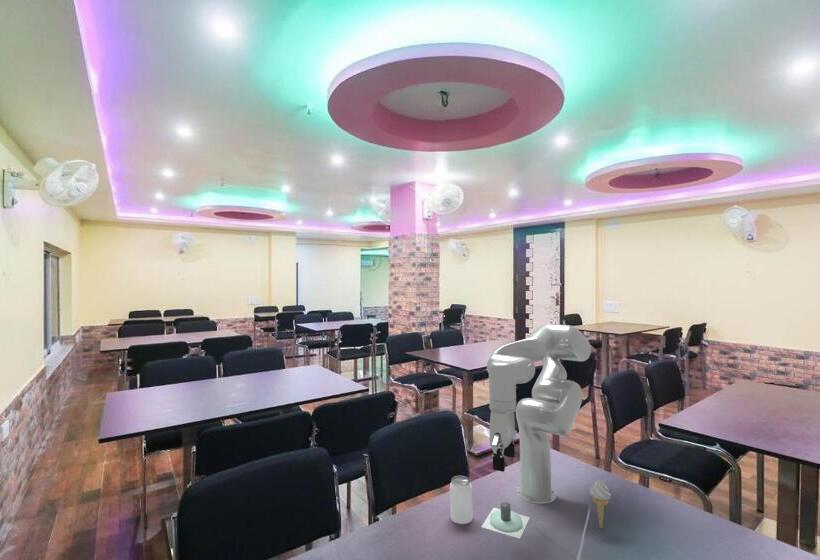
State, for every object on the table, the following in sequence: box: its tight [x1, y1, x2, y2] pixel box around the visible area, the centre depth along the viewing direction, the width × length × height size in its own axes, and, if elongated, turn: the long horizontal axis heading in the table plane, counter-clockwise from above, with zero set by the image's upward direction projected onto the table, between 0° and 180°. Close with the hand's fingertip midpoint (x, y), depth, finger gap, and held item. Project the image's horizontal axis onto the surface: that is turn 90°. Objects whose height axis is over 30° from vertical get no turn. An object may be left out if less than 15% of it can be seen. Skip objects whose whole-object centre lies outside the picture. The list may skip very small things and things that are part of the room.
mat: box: [480, 507, 530, 540], centre depth 117 cm, size 11×11×1 cm
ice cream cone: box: [589, 475, 612, 530], centre depth 114 cm, size 6×6×15 cm
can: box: [449, 475, 474, 525], centre depth 120 cm, size 6×6×12 cm
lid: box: [490, 501, 522, 532], centre depth 117 cm, size 9×9×5 cm
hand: (504, 463), depth 117 cm, fingers open, 9 cm apart
